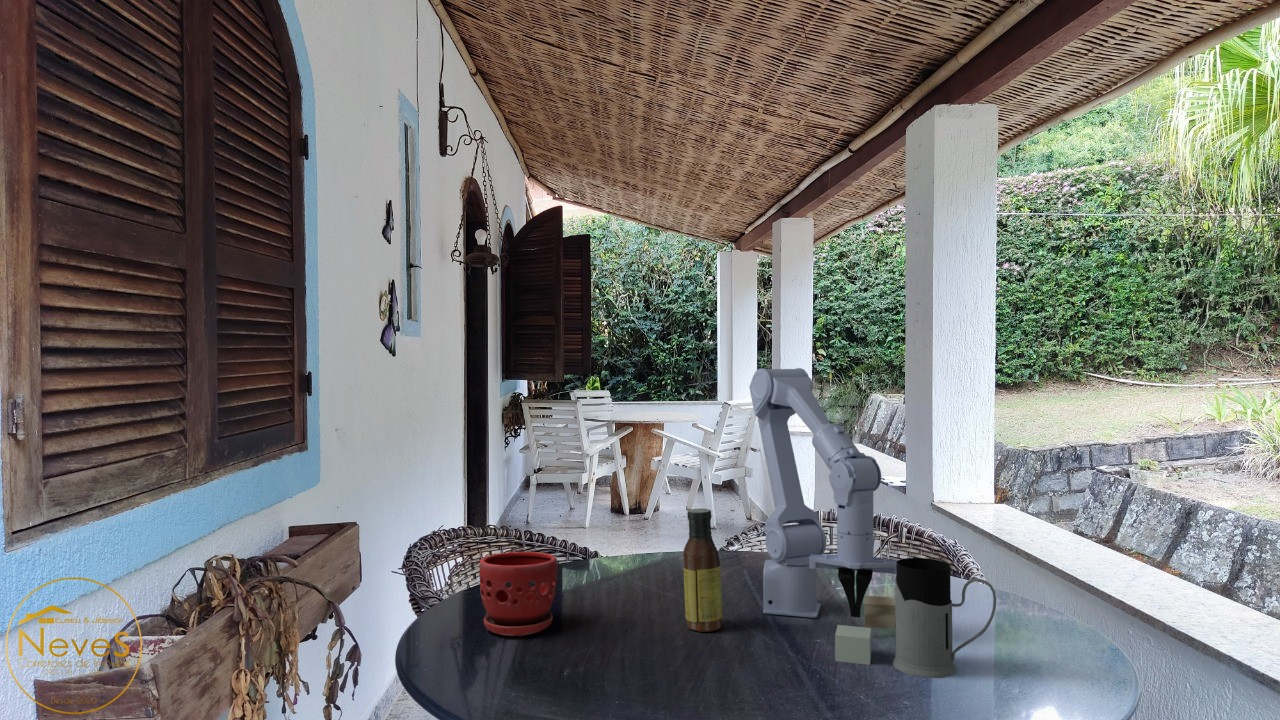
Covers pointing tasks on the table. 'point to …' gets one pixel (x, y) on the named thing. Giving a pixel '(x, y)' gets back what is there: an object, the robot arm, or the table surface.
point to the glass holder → (927, 618)
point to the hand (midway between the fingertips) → (855, 615)
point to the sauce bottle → (702, 575)
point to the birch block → (879, 612)
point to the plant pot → (518, 591)
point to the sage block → (853, 644)
